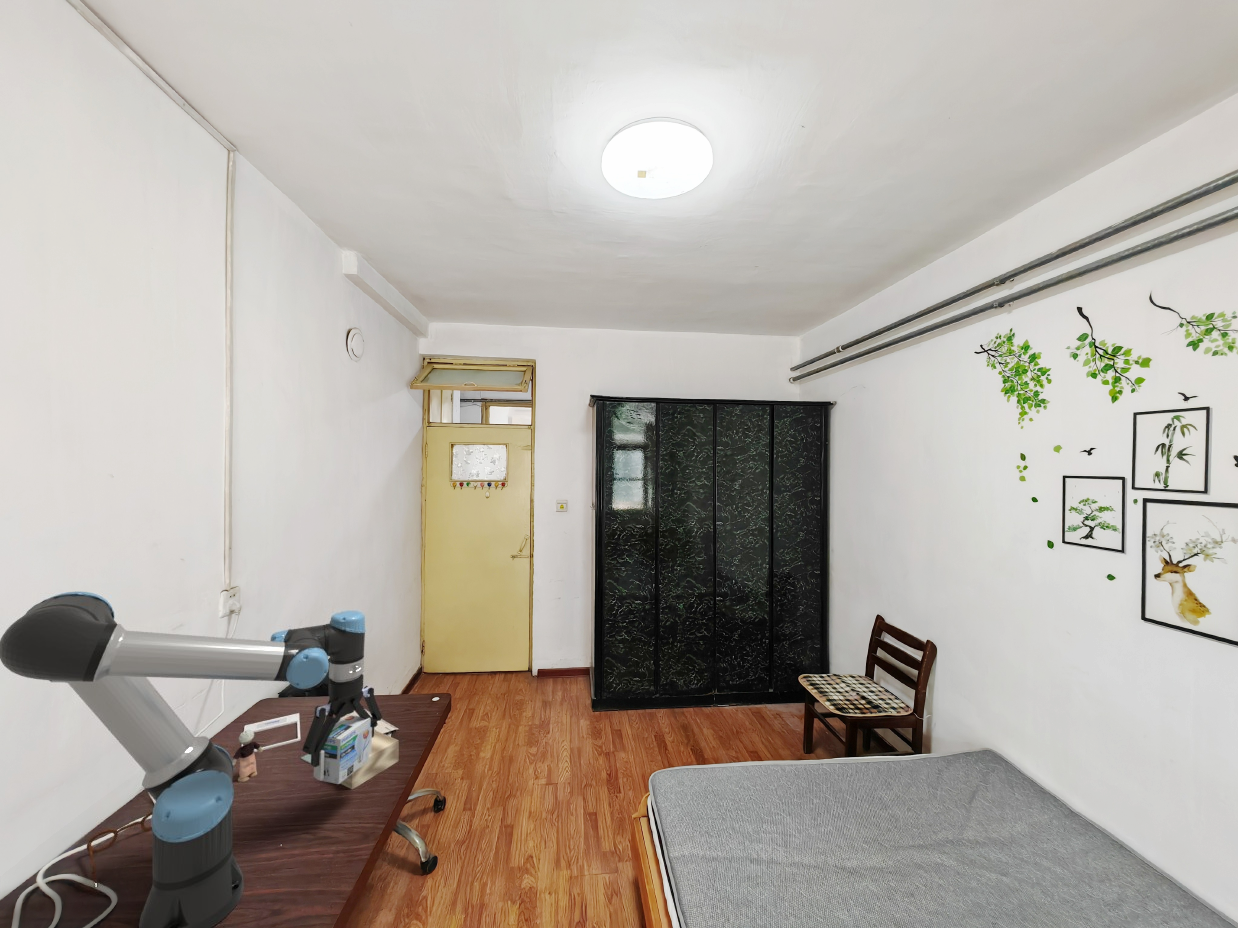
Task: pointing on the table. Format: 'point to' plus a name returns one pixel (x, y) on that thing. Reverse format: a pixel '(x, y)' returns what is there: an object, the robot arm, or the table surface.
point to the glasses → (112, 840)
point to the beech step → (375, 760)
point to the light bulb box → (346, 748)
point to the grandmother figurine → (246, 756)
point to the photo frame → (272, 724)
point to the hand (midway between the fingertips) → (343, 764)
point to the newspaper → (381, 725)
